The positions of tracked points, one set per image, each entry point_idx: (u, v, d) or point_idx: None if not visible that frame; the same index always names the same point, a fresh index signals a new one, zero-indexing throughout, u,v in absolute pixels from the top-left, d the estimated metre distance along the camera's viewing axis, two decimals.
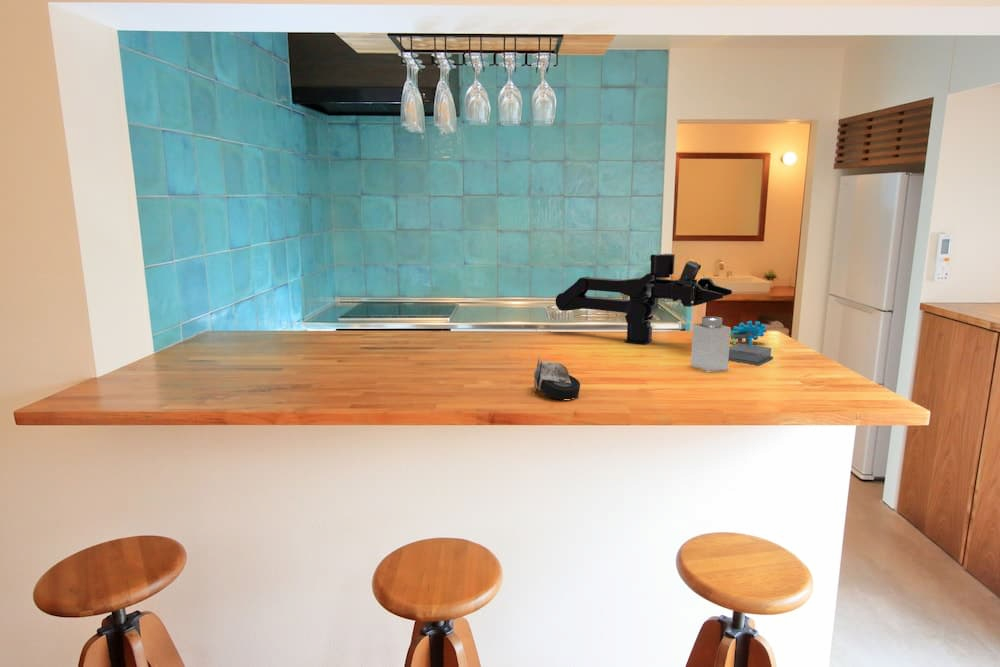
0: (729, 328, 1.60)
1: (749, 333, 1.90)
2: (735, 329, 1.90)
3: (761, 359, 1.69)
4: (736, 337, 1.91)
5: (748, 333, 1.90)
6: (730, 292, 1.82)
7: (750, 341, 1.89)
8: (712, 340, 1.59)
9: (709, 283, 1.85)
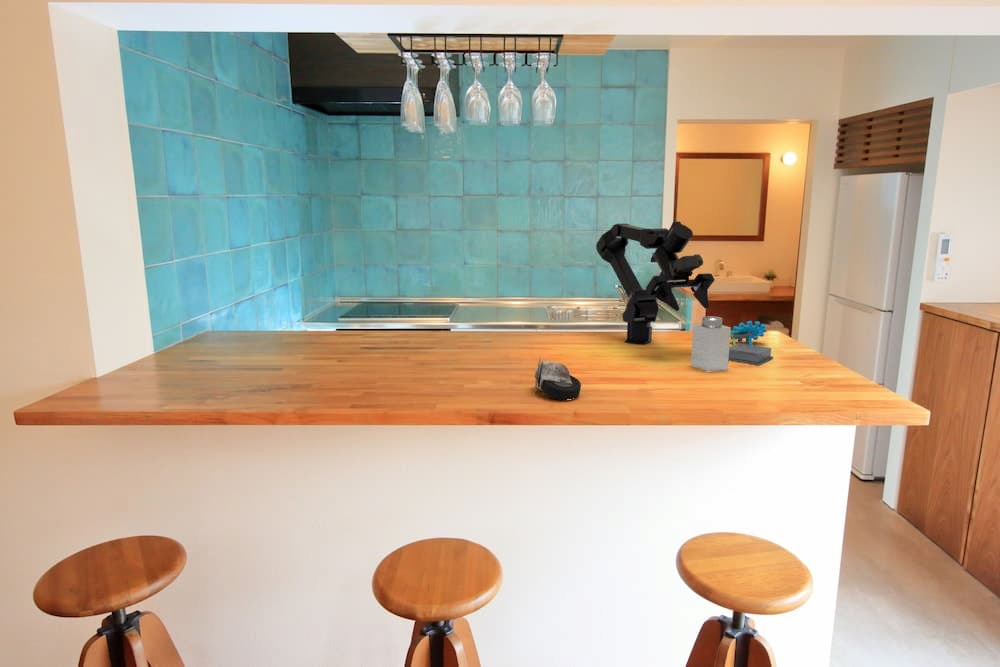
0: (729, 328, 1.60)
1: (749, 333, 1.90)
2: (735, 329, 1.90)
3: (761, 359, 1.69)
4: (736, 337, 1.91)
5: (748, 333, 1.90)
6: (705, 307, 1.71)
7: (750, 341, 1.89)
8: (712, 340, 1.59)
9: (702, 284, 1.73)
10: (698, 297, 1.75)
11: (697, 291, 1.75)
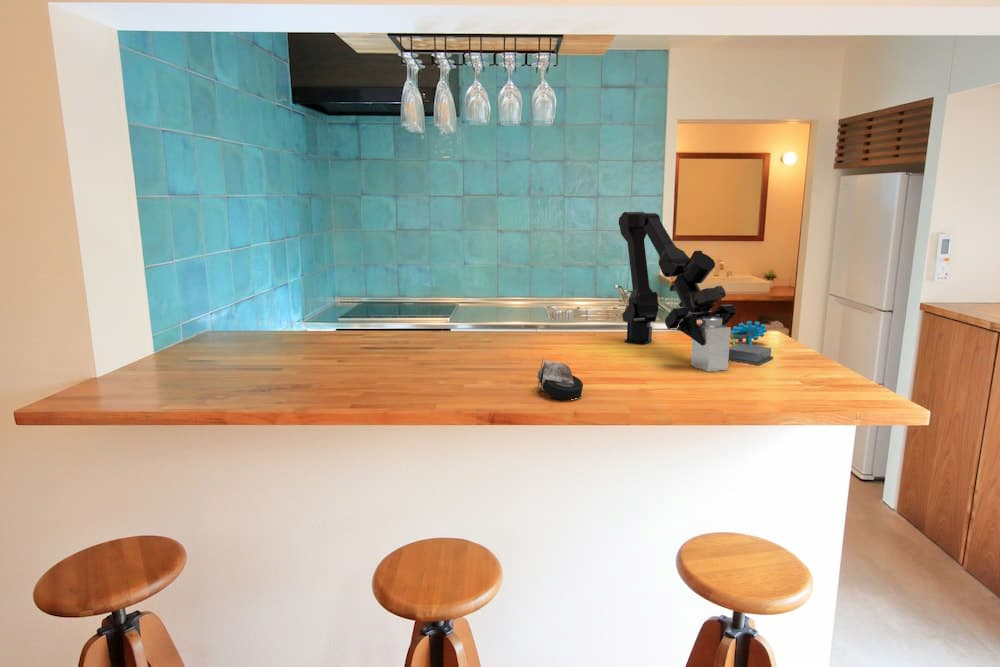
0: (729, 328, 1.60)
1: (749, 333, 1.90)
2: (735, 329, 1.90)
3: (761, 359, 1.69)
4: (736, 337, 1.91)
5: (748, 333, 1.90)
6: None
7: (750, 341, 1.89)
8: (712, 340, 1.59)
9: None
10: None
11: None
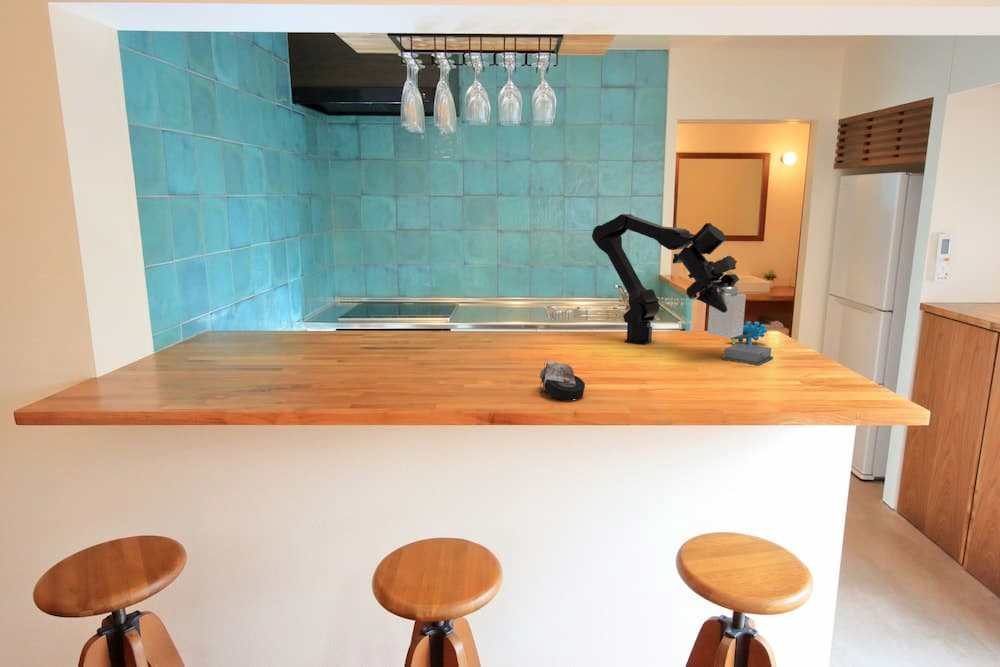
0: (745, 295, 1.71)
1: (749, 333, 1.90)
2: None
3: (761, 359, 1.69)
4: (736, 337, 1.91)
5: (748, 333, 1.90)
6: None
7: (749, 341, 1.89)
8: (735, 307, 1.68)
9: (729, 285, 1.75)
10: None
11: None
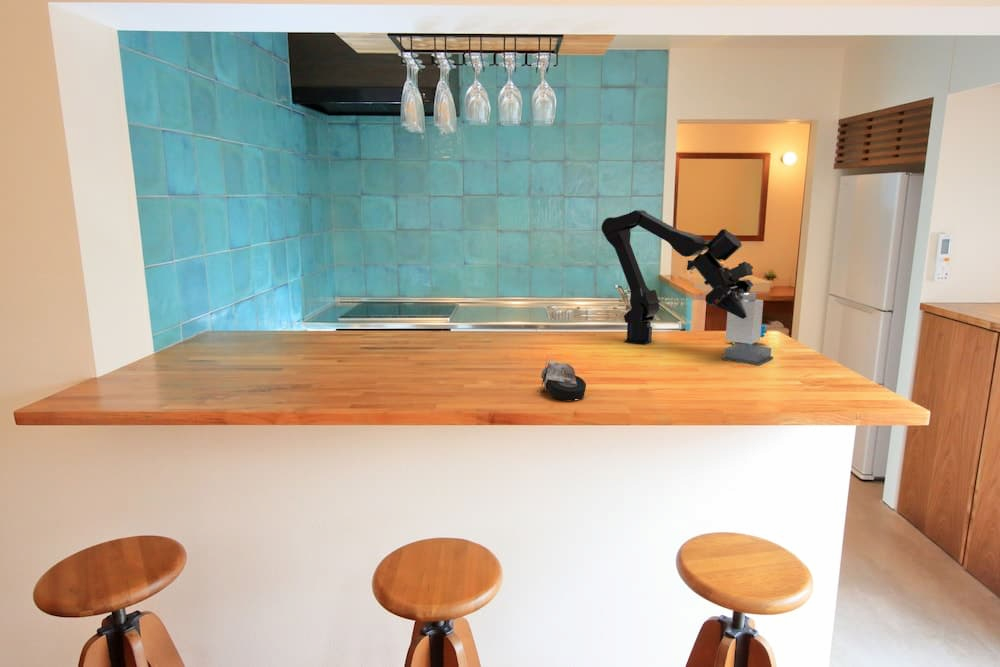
0: (762, 301, 1.71)
1: None
2: None
3: (761, 359, 1.69)
4: None
5: None
6: None
7: None
8: (754, 313, 1.68)
9: None
10: None
11: None
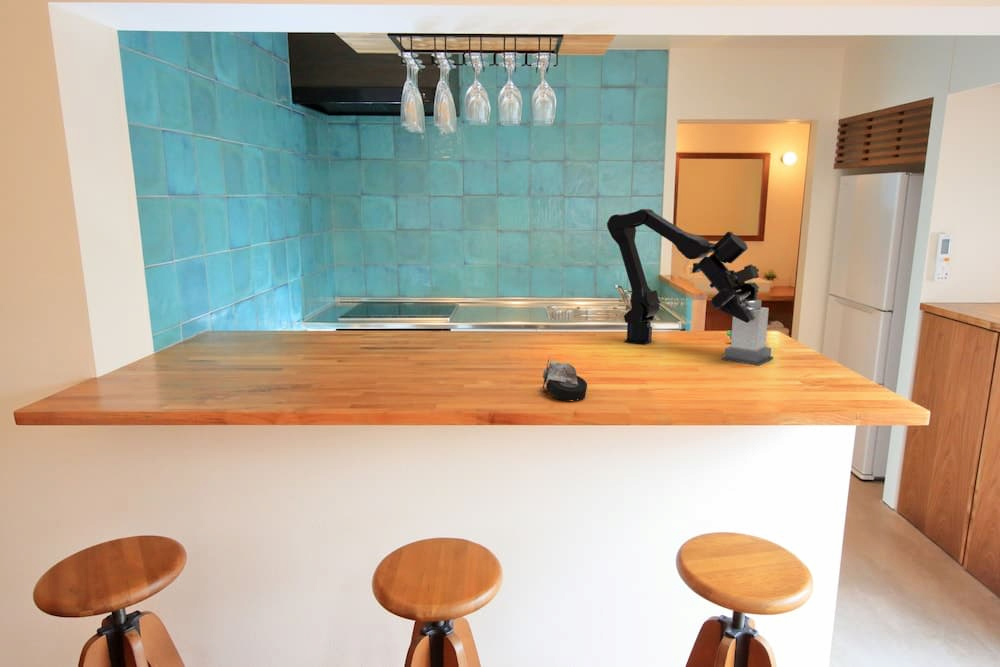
0: (768, 308, 1.70)
1: None
2: None
3: (761, 359, 1.69)
4: None
5: None
6: None
7: None
8: (760, 321, 1.67)
9: (752, 293, 1.75)
10: None
11: None
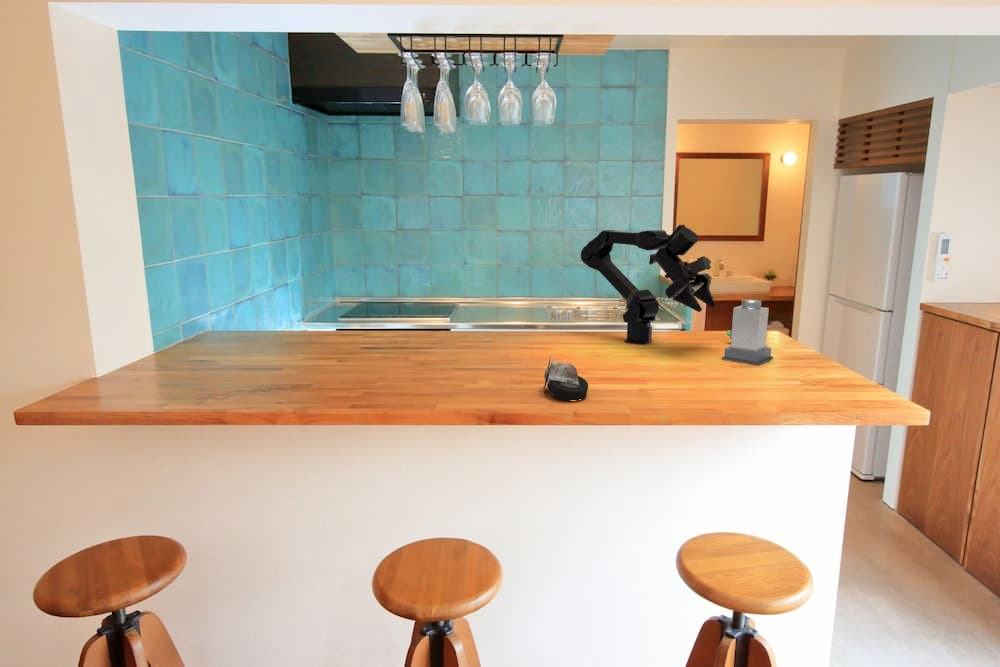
0: (768, 308, 1.70)
1: None
2: None
3: (761, 359, 1.69)
4: None
5: None
6: (713, 306, 1.81)
7: None
8: (760, 321, 1.67)
9: (705, 284, 1.82)
10: (701, 297, 1.83)
11: (698, 291, 1.83)
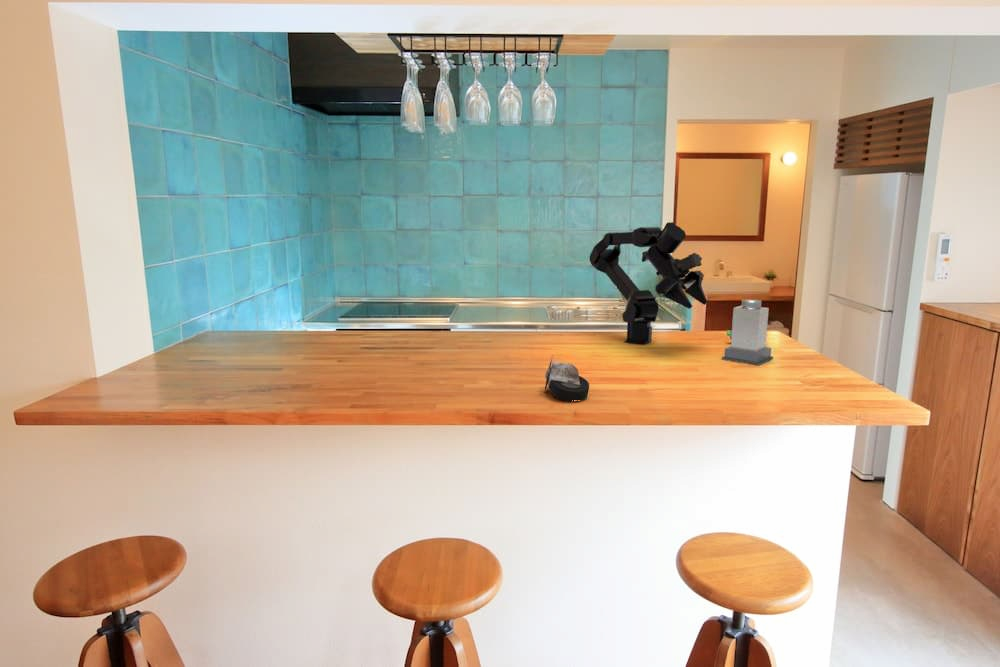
0: (768, 308, 1.70)
1: None
2: None
3: (761, 359, 1.69)
4: None
5: None
6: (704, 303, 1.80)
7: None
8: (760, 321, 1.67)
9: (697, 281, 1.82)
10: (693, 294, 1.83)
11: (690, 288, 1.83)
